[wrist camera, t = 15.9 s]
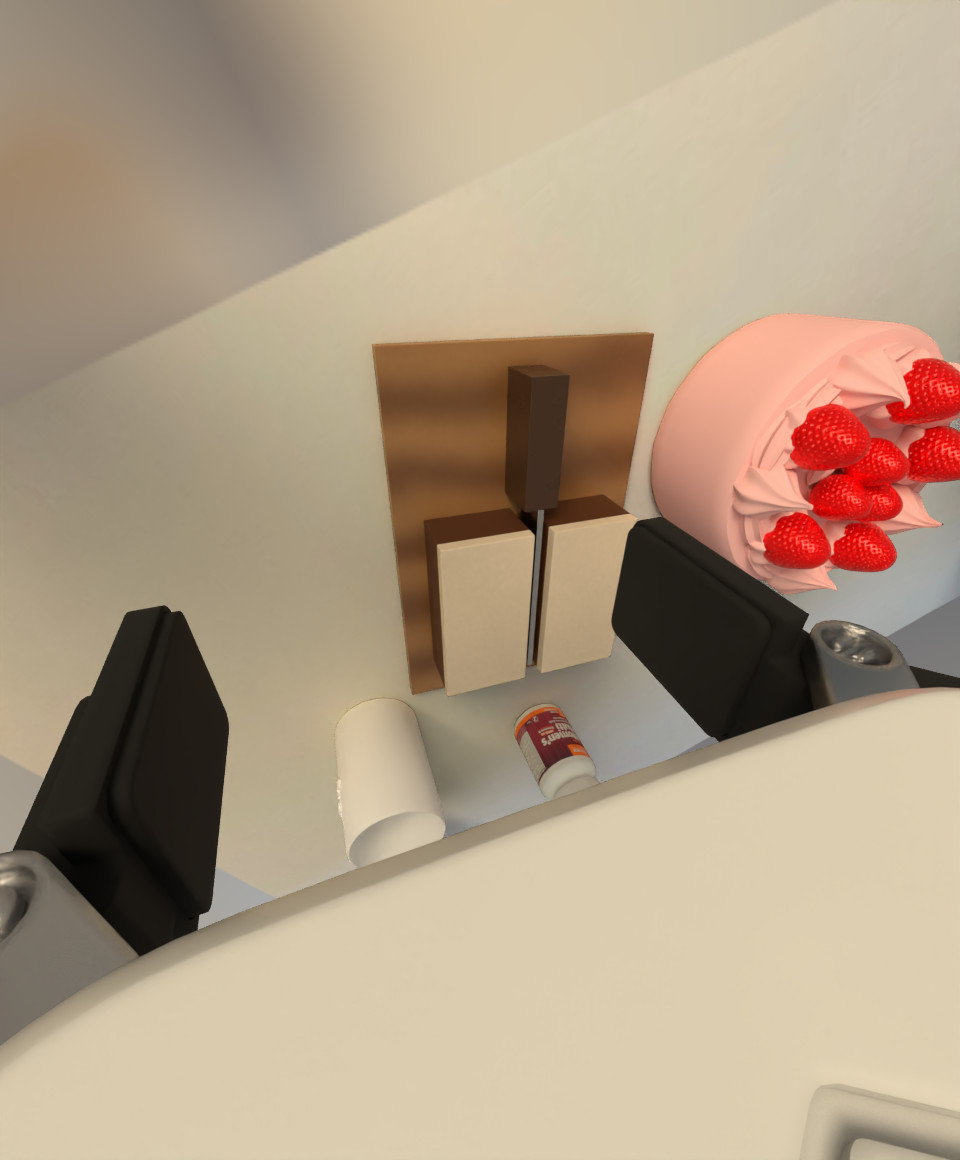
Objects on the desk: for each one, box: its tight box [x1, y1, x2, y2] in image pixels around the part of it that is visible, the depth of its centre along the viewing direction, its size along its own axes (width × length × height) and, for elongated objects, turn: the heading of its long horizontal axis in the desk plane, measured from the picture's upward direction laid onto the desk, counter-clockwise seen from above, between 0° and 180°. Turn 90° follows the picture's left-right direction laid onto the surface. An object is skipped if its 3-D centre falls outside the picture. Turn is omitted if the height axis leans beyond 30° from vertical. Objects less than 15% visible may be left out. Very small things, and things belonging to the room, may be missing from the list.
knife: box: [505, 364, 570, 665], centre depth 38 cm, size 24×3×4 cm, turn 0°
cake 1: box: [424, 508, 535, 697], centre depth 39 cm, size 14×7×5 cm, turn 0°
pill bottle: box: [514, 704, 600, 801], centre depth 51 cm, size 6×6×11 cm
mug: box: [334, 698, 446, 868], centre depth 44 cm, size 8×12×12 cm
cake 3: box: [651, 313, 960, 595], centre depth 38 cm, size 20×20×14 cm
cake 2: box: [533, 494, 637, 674], centre depth 41 cm, size 14×7×5 cm, turn 0°
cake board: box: [372, 332, 654, 695], centre depth 40 cm, size 30×20×1 cm, turn 0°
